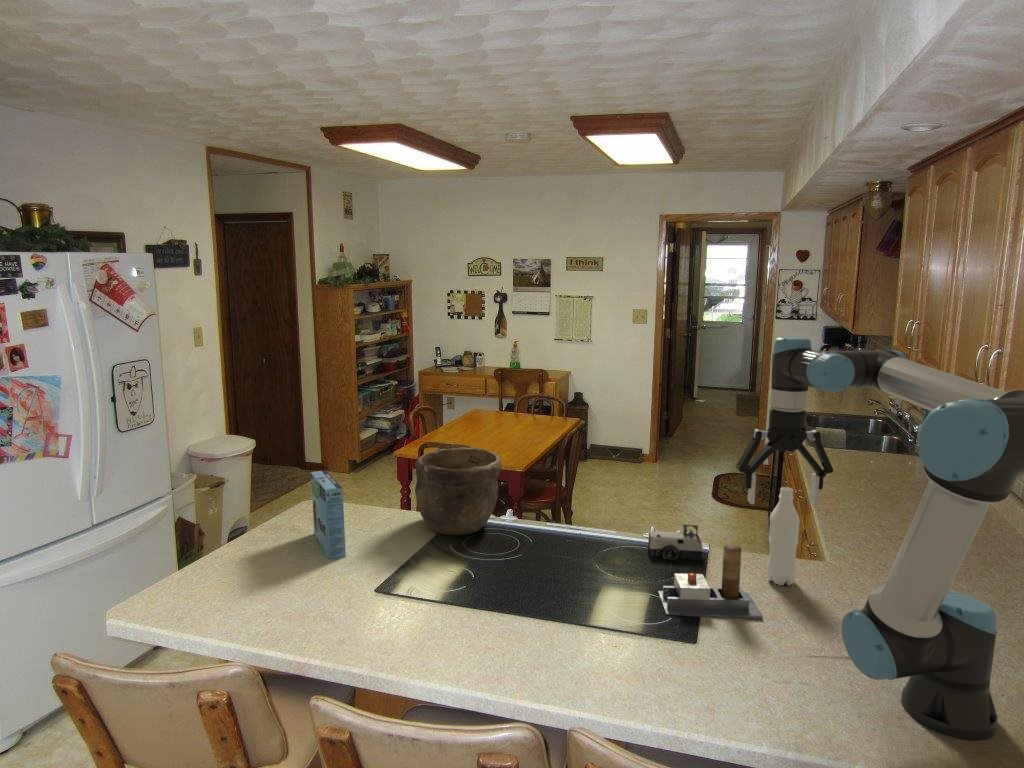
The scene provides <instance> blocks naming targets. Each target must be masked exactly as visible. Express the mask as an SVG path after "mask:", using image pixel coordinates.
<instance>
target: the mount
mask: <svg viewBox="0 0 1024 768" xmlns="http://www.w3.org/2000/svg"><path fill="white" fill-rule="evenodd" d="M709 587H710V600H697V599H680V597H679V595H678V593H677V590H676V588H675V586H674V585H663V586H662V590H658V594H659V597H660V601H661V603H662V606H663V609H664V611H665V612H664V613H665V614H666V615H667V616H682V617H683V616H684V617H685V616H686V617H701V618H703V617H704V618H720V619H721V618H722V619H741V620H757V621H759V620H760V621H762V620H764V618H763V617H764V615H763V614H762V612H761V611H760V609H759V608H758V607H757V605H756V603H755V601H754V600H753V598H752V596H750V594H749V592H745V591H744V590H743V589H742V587H741V586H739V598H722V597H721V591H722V586H709Z"/></svg>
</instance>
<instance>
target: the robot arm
mask: <svg viewBox="0 0 1024 768" xmlns="http://www.w3.org/2000/svg"><path fill="white" fill-rule="evenodd" d="M772 351H773V352H772V358H771V359H772V360H771V363H772V364H771V380H770V381H771V383H770V384H771V386H770V397H769V399H770V401H769V405H770V407H771V408H769V412H768V413H769V414H768V428H767V430H760V429H758V428H754V429H753V432H752V436H751V439H750V441H749V443H748V444H747V446H746V448H745V449H744V451H743V453H742V455H741V457H740V458H739V460H738V462H737V463H736V466H735V467H736V469H737V470H738V471H739V472H741V473H743V474H744V477H743V485H744V486H743V487H745V488H746V489H747V501H748V502H749V504H751V505H755V502H756V499H755V498H756V482H757V475H756V473H755V472H756V471H757V469H759V467H760V466H762V465H763V463H764V462H765V461H766V460H767V459H768V458H769V457H770V456H771V455H772V454H774V453H775V452H776V451H778V452H786V451H788V452H795V451H798V452H799V454H800V455H801V456H802V458H804V460H805V461H806V462H807V463H808V464H809V466H810V467H811V468H812V470H813V471H814V472H815V473H814V472H811V474H810V488H809V500H808V501H809V503H811V505H813V506H818V504H819V503H818V502H819V491H820V490H823V487H824V478H825V477H826V476H827V474H832V473H834V469H833V466H832V464H831V460H829V457H828V454H827V452H826V450H825V448H824V446H823V444H822V442H821V441H822V440H821V439H822V437H821V436H822V435H821V432H819V430H816V429H814V428H813V429H811V430H810V431H809V430H808V431H806V426H807V414H808V413H807V411H806V409H807V408H808V396H809V388H812V389H813V388H814V389H817V390H820V391H823V392H833V393H834V392H835V393H837V392H841V391H843V390H845V389H852V388H872V389H875V390H878V391H880V392H883V393H884V394H885V393H886V394H888V395H891V396H893V397H896V398H898V399H901V400H903V401H905V402H908V403H911V404H912V405H915V406H918V407H920V408H922V409H925V410H927V411H930V413H929V414H928V415H927V416H926V417H925V418H924V420H923V422H922V424H921V425H920V428H919V431H918V434H917V446H919V447H920V449H919V450H918V452H917V453H918V455H919V459H920V461H921V463H922V465H923V468H922V470H923V473H924V475H925V476H926V478H927V479H928V483H927V485H926V488H925V489H924V492H923V495H922V497H921V499H920V501H919V504H918V506H917V509H916V510H915V512H914V515H913V518H912V521H911V522H910V525H909V527H908V530H907V531H906V534H905V537H904V539H903V541H902V543H901V546H900V547H899V551H898V552H897V555H896V558H895V560H894V563H893V565H892V566H891V570H890V572H889V573H888V576H887V579H886V581H885V583H884V585H881V586H877V587H876V588H875V587H874V589H872V590H871V591H870V593H869V595H868V598H867V600H866V602H865V605H864V606H863V608H862V609H853V610H851V611H848V612H847V613H846V614H844V616H843V618H842V621H841V637H842V641H843V644H844V647H845V651H846V652H847V654H848V656H849V659H850V660H851V662H852V663H853V664H854V666H855V667H856V669H858V671H859V672H861V674H863V675H864V676H866V677H867V678H869V679H872V680H877V681H878V680H879V681H881V680H882V681H883V680H889V681H893V680H896V679H901V678H908V680H907V682H906V684H905V686H904V687H903V689H902V691H901V697H900V701H901V705H902V707H903V709H904V710H905V712H906V714H908V715H909V716H910V717H911V718H912V719H914V720H915V721H916V722H918V723H919V724H920V725H922V726H923V727H926V728H928V729H930V730H932V731H934V732H935V733H938V734H941V735H943V736H947V737H949V738H950V737H951V738H954V739H958V740H962V741H971V742H972V741H974V742H978V741H979V742H980V741H987V740H989V739H992V738H993V737H995V735H996V734H997V731H998V724H999V722H998V721H999V720H998V715H997V710H996V707H995V704H994V700H993V695H992V693H991V687H990V686H991V677H992V669H993V662H994V656H995V655H994V653H995V646H996V638H997V634H998V631H997V615H996V613H995V611H994V610H993V609H992V607H990V606H989V605H988V604H986V603H985V602H982V601H981V600H979V599H977V598H975V597H972V596H970V595H966V594H964V593H961V592H958V591H954V590H950V588H951V586H952V585H953V582H954V580H955V578H956V575H957V573H958V572H959V569H960V567H961V566H962V564H963V562H964V559H965V557H966V556H967V553H968V551H969V549H970V547H971V545H972V543H973V541H974V539H975V537H976V536H977V535H976V534H977V532H978V531H979V529H980V526H981V524H982V523H983V520H984V518H985V516H986V514H987V513H988V510H989V508H990V506H991V505H996V504H999V503H1002V502H1005V501H1006V500H1007V499H1008V497H1009V495H1010V493H1011V491H1012V489H1013V487H1014V484H1015V483H1016V481H1017V479H1018V478H1019V477H1020V476H1024V390H1023V389H1011V390H1008V391H1005V390H1002V389H998V388H995V387H992V386H990V385H986V384H983V383H980V382H977V381H973V380H971V379H968V378H965V377H963V376H960V375H959V376H958V375H956V374H952V373H950V372H946V371H944V370H940V369H937V368H933V367H931V366H927V365H924V364H922V363H918V362H917V361H916V362H915V361H912V360H910V359H909V358H908V357H907V356H906V355H905V353H903V352H902V351H899V350H896V349H895V350H891V349H886V348H883V349H876V350H874V349H873V350H839V351H838V350H831V351H829V350H827V351H824V350H815V349H814V350H813V348H812V341H811V339H810V338H807V337H801V336H800V337H799V336H780V337H777V338H776V339H775V340H774V344H773V350H772ZM765 438H767V440H768V442H766V444H764V447H763V448H761V450H760V451H759V452H758V453H757V454H756V455H755V457H753V456H754V454H755V453H756V451H757V450H758V448H759V447H760V444H761V442H762V441H764V439H765ZM807 438H808V440H809V441H811V444H812V446H813V449H814V450H815V453H816V455H817V457H818V460H819V462H820V464H821V465H820V464H819V462H817V461H816V460H815V458H814V457H813V456H812V454H811V453H810V452H809V451H808V449H807V448H806V446H805V445H804V444H803V443H804V442H805V441H806V439H807Z"/></svg>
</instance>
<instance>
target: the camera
mask: <svg viewBox="0 0 1024 768" xmlns="http://www.w3.org/2000/svg"><path fill="white" fill-rule="evenodd" d="M688 527H692V528H694V529H695V532H694V530H692V529H691V528H690V531H689V532H688ZM682 528H683V529H682V530H683V532H678V531H677V532H676V531H659V530H658V531H656V530H652V531H649V533H648V543H647V544H648V545H647V547H648V548H647V552H648V554H649V556H650V557H658V558H659V557H661V558H662V559H663V560H671V561H672V560H674V561H679V559H683V560H692V559H693V560H694V561H701V560H702V553H703V549H704V547H703V540H702V537H701V534H700V533H698V532H699V530H698V529H699V524H697V523H683V527H682ZM693 560H692V561H693Z"/></svg>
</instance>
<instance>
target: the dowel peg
mask: <svg viewBox="0 0 1024 768" xmlns="http://www.w3.org/2000/svg"><path fill="white" fill-rule="evenodd" d="M722 556H723V557H722V571H721V572H722V576H721V587H722V591H721V597H722V598H739V587H740V581H741V568H742V567H741V565H742V547H741V546H740V545H737V544H732V543H731V544H730V543H728V544H724V546H723V554H722Z"/></svg>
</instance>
